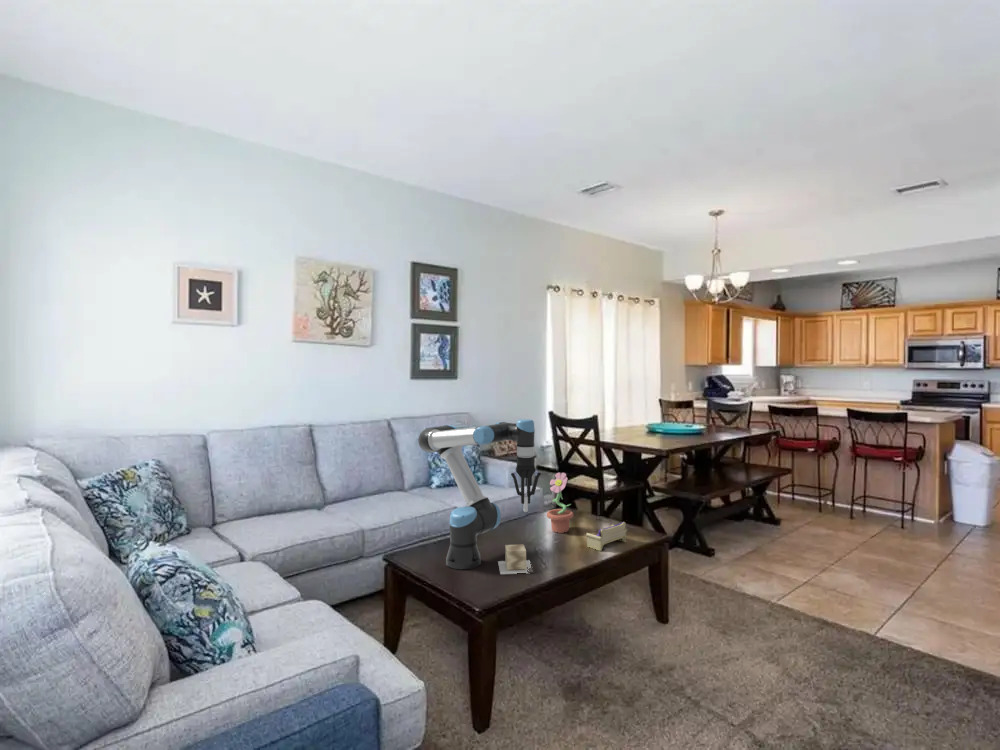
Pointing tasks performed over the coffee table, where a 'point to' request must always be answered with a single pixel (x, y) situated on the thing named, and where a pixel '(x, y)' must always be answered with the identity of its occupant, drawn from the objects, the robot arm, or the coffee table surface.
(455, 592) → the coffee table surface
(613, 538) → the toy sofa
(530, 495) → the robot arm
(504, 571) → the grey mat
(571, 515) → the decorative flower
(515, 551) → the maple cube
